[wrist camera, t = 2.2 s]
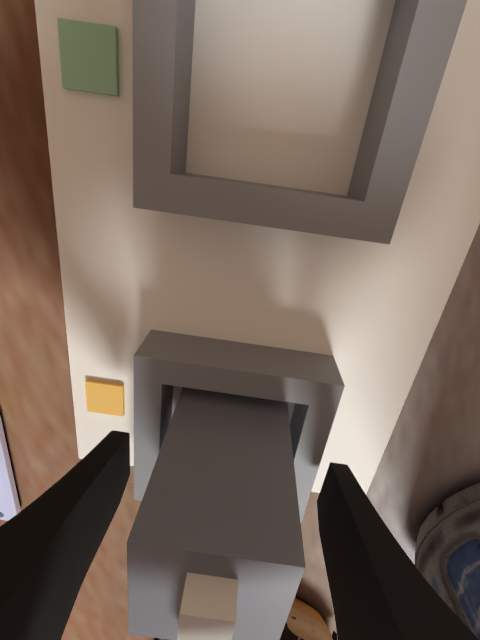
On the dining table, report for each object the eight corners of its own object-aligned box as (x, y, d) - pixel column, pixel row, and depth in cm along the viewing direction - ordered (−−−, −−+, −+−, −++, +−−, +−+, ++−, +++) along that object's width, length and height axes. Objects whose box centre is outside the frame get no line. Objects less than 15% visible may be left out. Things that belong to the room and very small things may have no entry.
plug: (183, 442, 15) (117, 674, 8) (188, 369, 14) (112, 582, 7) (269, 454, 15) (275, 696, 8) (285, 383, 14) (310, 610, 7)
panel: (86, 445, 17) (56, 494, 14) (39, -129, 9) (-53, -251, 6) (359, 485, 17) (376, 540, 14) (575, -51, 9) (704, -142, 6)
